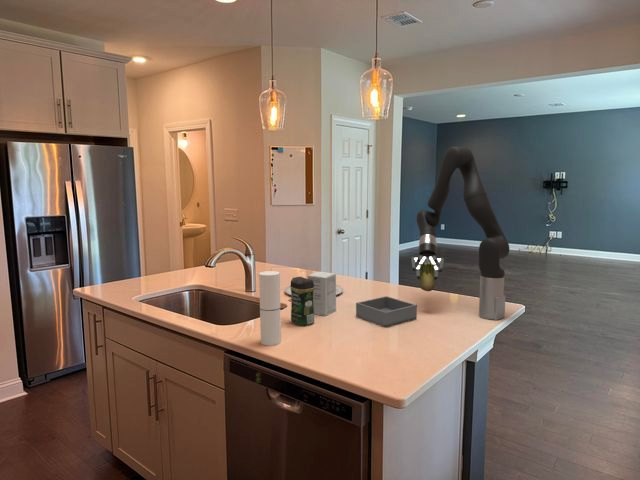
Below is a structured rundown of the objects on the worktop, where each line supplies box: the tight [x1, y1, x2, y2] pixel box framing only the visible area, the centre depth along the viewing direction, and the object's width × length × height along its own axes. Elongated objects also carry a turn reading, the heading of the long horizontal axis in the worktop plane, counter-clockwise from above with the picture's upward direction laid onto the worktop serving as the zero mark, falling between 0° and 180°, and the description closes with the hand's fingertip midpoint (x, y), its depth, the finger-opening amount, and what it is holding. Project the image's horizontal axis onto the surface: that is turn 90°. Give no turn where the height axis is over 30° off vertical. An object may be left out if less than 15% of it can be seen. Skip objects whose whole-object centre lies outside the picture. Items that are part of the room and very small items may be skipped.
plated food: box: [284, 284, 344, 296], centre depth 228 cm, size 30×30×3 cm
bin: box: [355, 295, 418, 329], centre depth 184 cm, size 18×18×6 cm
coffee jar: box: [289, 276, 315, 326], centre depth 178 cm, size 10×8×19 cm
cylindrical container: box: [258, 270, 282, 347], centre depth 157 cm, size 7×7×25 cm
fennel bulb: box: [419, 263, 436, 292], centre depth 190 cm, size 6×5×12 cm
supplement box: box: [306, 271, 337, 317], centre depth 193 cm, size 10×9×17 cm
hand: (427, 278), depth 188 cm, fingers closed on fennel bulb, 6 cm apart
